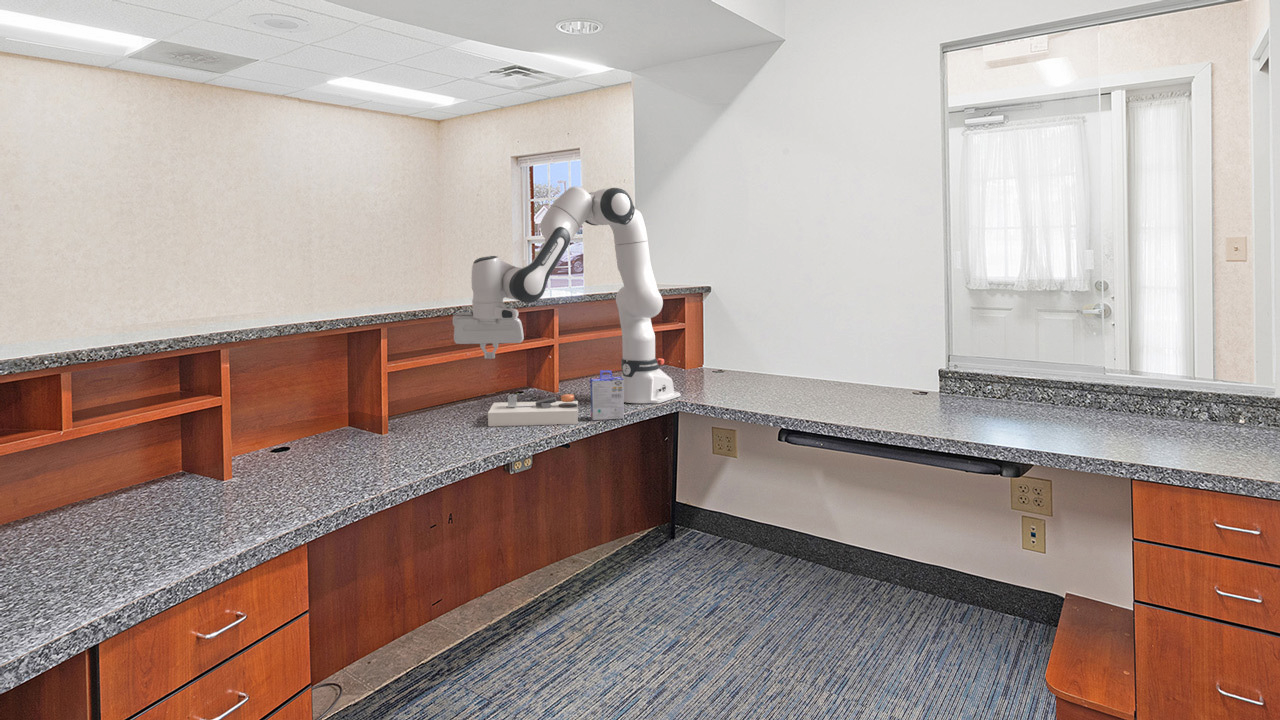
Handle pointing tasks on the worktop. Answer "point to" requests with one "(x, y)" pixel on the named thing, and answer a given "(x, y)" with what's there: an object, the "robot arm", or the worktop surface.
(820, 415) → the worktop surface
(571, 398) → the push button
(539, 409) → the control panel
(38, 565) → the worktop surface
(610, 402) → the ink cartridge box
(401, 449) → the worktop surface
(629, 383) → the robot arm
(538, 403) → the rocker switch
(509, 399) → the slider knob
